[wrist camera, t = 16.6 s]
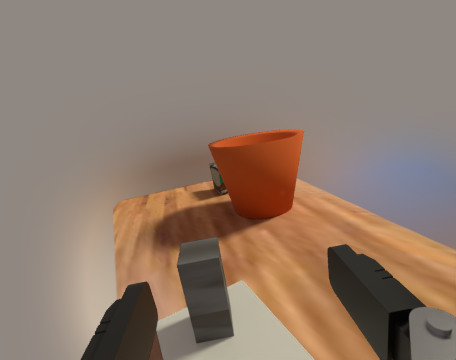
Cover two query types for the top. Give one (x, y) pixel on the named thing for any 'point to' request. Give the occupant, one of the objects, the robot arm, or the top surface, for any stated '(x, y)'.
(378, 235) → the top surface
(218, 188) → the food container
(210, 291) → the charcoal link
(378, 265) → the robot arm
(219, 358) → the plate
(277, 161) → the flowerpot
